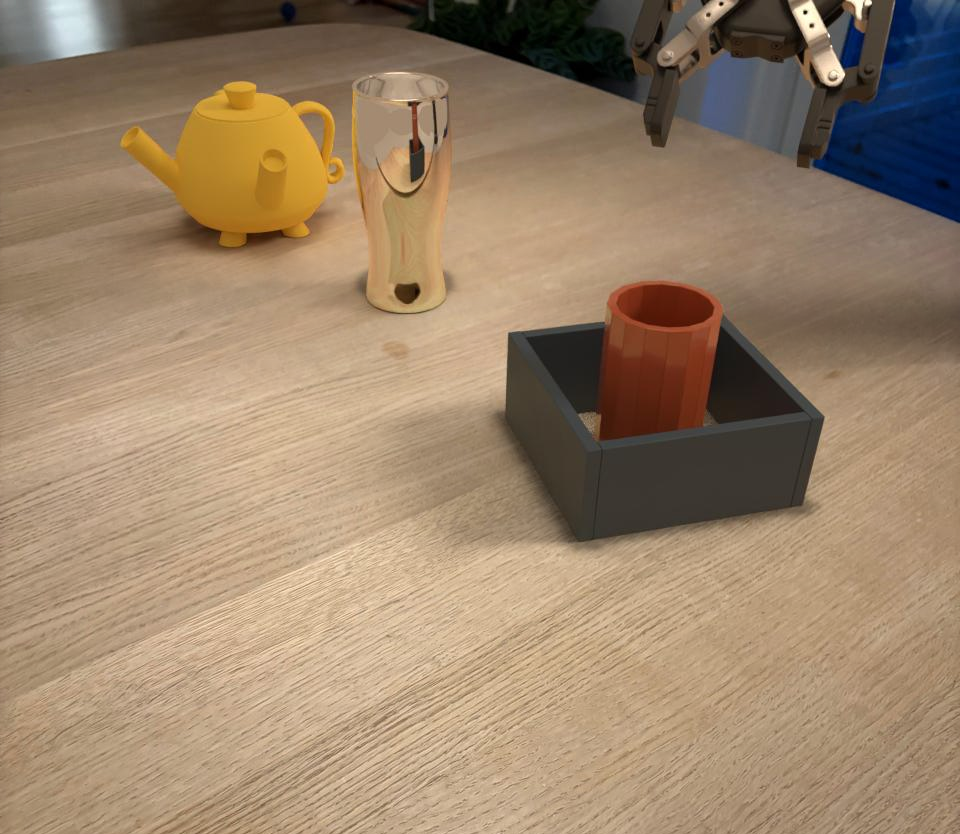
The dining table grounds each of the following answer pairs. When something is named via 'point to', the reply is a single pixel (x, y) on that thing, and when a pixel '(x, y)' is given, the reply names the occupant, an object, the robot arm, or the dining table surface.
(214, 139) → the teapot
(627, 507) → the open box
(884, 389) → the dining table surface
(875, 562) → the dining table surface
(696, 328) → the tumbler
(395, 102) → the beer glass
